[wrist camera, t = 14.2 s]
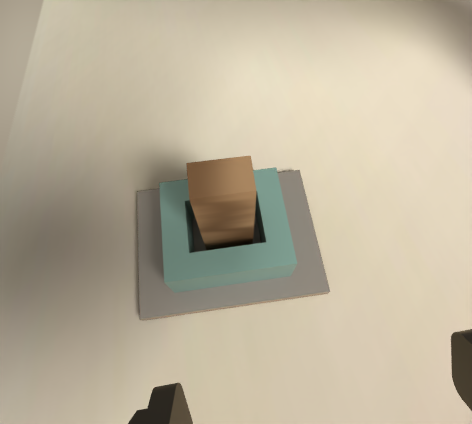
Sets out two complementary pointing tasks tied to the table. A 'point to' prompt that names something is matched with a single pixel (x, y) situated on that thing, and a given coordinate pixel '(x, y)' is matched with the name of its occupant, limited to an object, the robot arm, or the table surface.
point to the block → (223, 200)
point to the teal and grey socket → (226, 251)
